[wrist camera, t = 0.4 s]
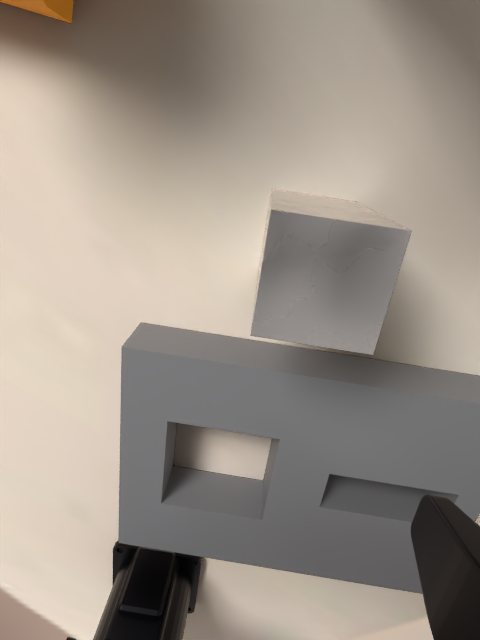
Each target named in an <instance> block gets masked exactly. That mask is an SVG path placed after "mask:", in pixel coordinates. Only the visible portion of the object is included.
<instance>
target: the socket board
mask: <svg viewBox="0 0 480 640" xmlns="http://www.w3.org/2000/svg"><path fill="white" fill-rule="evenodd" d="M177 423H181V424H188V425H194V426H200V427H206V428H212V429H219V430H225V431H231V432H237V433H243V434H249V435H256V436H262V437H268V438H272V442H271V447H270V451H269V456H268V461H267V465H266V470H265V475H264V479H263V481H262V480H256V479H250V478H244V477H238V476H232V475H225V474H219V473H213V472H207V471H201V470H195V469H189V468H183V467H177V466H173V462H174V451H175V440H176V428H177ZM425 494H432V495H439V496H444V497H447V498H448V499H450V500H451V501H452V502H453V503H454V504H455V505H457V506H458V507H459V508H460V509H461V510H462V511H463V512H464V513H466V514H467V515H468V516H469V517H470V518H471V519H472V520H473V521H476V519H477V517H478V515H479V513H480V376H478V375H471V374H465V373H459V372H452V371H446V370H440V369H433V368H427V367H420V366H414V365H408V364H401V363H395V362H389V361H382V360H376V359H370V358H363V357H357V356H351V355H344V354H338V353H332V352H325V351H319V350H313V349H306V348H300V347H293V346H287V345H281V344H274V343H268V342H262V341H255V340H249V339H243V338H236V337H230V336H224V335H217V334H211V333H205V332H198V331H192V330H185V329H179V328H173V327H166V326H160V325H154V324H147V323H140V324H139V326H138V327H137V328H136V330H135V331H134V332H133V333H132V335H131V336H130V337H129V338H128V340H127V341H126V342H125V343H124V345H123V346H122V364H121V424H120V485H119V543H122V544H128V545H134V546H140V547H146V548H152V549H158V550H164V551H170V552H176V553H182V554H188V555H194V556H200V557H206V558H212V559H218V560H224V561H230V562H236V563H242V564H248V565H254V566H260V567H266V568H272V569H278V570H284V571H290V572H295V573H301V574H307V575H313V576H319V577H325V578H331V579H337V580H343V581H349V582H355V583H361V584H367V585H373V586H379V587H385V588H391V589H397V590H403V591H409V592H415V593H421V594H423V592H422V587H421V582H420V578H419V573H418V568H417V563H416V558H415V554H414V549H413V544H412V539H411V523H412V520H413V518H414V515H415V513H416V510H417V507H418V505H419V502H420V500H421V498H422V496H424V495H425Z"/></svg>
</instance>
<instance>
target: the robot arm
mask: <svg viewBox="0 0 480 640" xmlns="http://www.w3.org/2000/svg"><path fill="white" fill-rule="evenodd" d="M411 539H412V544H413V549H414V554H415V558H416V563H417V568H418V573H419V578H420V582H421V587H422V592H423V597H424V602H425V607H426V611H427V615H428V620H429V623H430V628H431V631H432V635H433V638H434V640H480V526H479V525H478V524H477V523H476V522H475V521H473V520H472V519H471V518H470V517H469V516H468V515H467V514H466V513H464V512H463V511H462V510H461V509H460V508H459V507H458V506H457V505H455V504H454V503H453V502H452V501H451V500H450V499H448V498H447V497H444V496H439V495H432V494H425V495H424V496H422V498H421V500H420V502H419V505H418V507H417V510H416V513H415V515H414V518H413V520H412V523H411ZM201 561H202V557H200V556H194V555H188V554H182V553H176V552H170V551H164V550H158V549H152V548H146V547H140V546H134V545H128V544H122V543H119V541H117V542H116V543H115V546H114V548H113V587H112V590H111V593H110V595H109V598H108V601H107V603H106V606H105V609H104V612H103V614H102V617H101V620H100V622H99V625H98V628H97V630H96V633H95V636H94V638H93V640H182V639H183V634H184V628H185V623H186V618H187V613H192V612H194V608H195V602H196V595H197V588H198V581H199V574H200V568H201ZM67 640H76V639H75V638H71V637H67Z"/></svg>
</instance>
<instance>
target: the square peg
mask: <svg viewBox="0 0 480 640" xmlns="http://www.w3.org/2000/svg"><path fill="white" fill-rule="evenodd" d="M411 232H412V231H411V230H409V229H407V228H405V227H403V226H402V225H400V224H398V223H396V222H394V221H392V220H390V219H388V218H386V217H384V216H382V215H380V214H379V213H377V212H375V211H373V210H371V209H369V208H367V207H365V206H363V205H361V204H359V203H357V202H356V201H349V200H343V199H336V198H329V197H323V196H316V195H309V194H303V193H296V192H289V191H283V190H276V189H271V196H270V202H269V208H268V214H267V220H266V227H265V233H264V239H263V245H262V252H261V258H260V264H259V270H258V278H257V287H256V295H255V303H254V311H253V319H252V327H251V336H256V337H262V338H269V339H275V340H281V341H288V342H294V343H300V344H307V345H313V346H319V347H326V348H332V349H338V350H345V351H351V352H357V353H364V354H370V355H373V354H374V351H375V347H376V344H377V341H378V338H379V334H380V331H381V328H382V325H383V322H384V318H385V315H386V312H387V309H388V306H389V302H390V299H391V296H392V293H393V289H394V286H395V283H396V280H397V277H398V273H399V270H400V267H401V264H402V261H403V257H404V254H405V251H406V248H407V244H408V241H409V238H410V235H411Z"/></svg>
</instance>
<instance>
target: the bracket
mask: <svg viewBox="0 0 480 640" xmlns="http://www.w3.org/2000/svg"><path fill="white" fill-rule="evenodd" d="M73 1H74V0H0V2H2V3H6V4H9V5H12V6H16V7H19V8H22V9H25V10H29V11H32V12H35V13H39V14H42V15H45V16H49V17H52V18H55V19H58V20H62V21H65V22H68V23H72V14H73Z"/></svg>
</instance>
